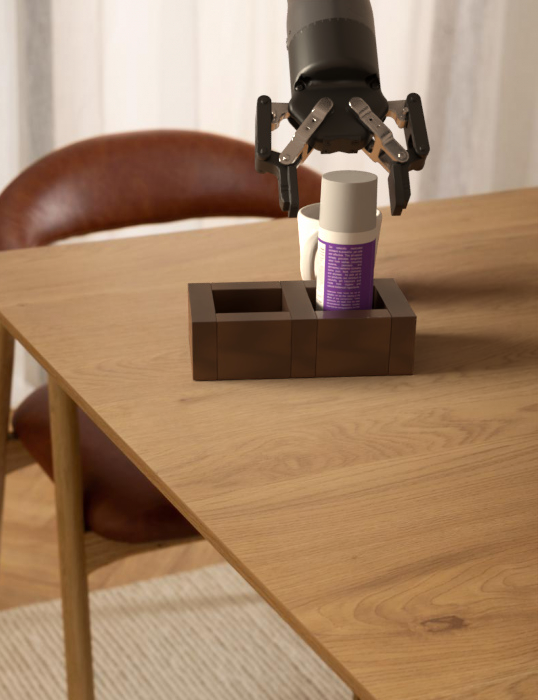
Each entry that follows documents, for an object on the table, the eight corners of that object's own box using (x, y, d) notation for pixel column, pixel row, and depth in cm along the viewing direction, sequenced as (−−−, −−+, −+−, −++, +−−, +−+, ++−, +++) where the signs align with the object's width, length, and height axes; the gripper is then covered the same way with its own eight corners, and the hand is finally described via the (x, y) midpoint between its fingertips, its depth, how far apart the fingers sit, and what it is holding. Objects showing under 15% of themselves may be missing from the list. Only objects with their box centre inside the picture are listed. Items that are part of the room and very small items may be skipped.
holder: (390, 332, 106) (393, 277, 103) (412, 374, 97) (417, 316, 94) (188, 337, 105) (187, 283, 102) (192, 380, 96) (191, 322, 94)
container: (380, 353, 101) (391, 176, 94) (345, 367, 98) (353, 186, 91) (338, 339, 104) (346, 167, 97) (303, 353, 101) (308, 176, 94)
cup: (342, 320, 108) (346, 234, 105) (266, 306, 112) (267, 222, 108) (391, 288, 116) (396, 207, 113) (318, 275, 120) (321, 197, 116)
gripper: (251, 15, 97) (262, 189, 92) (423, 13, 98) (443, 185, 93) (246, 73, 104) (256, 237, 100) (406, 70, 105) (423, 233, 100)
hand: (346, 212), depth 96 cm, fingers open, 8 cm apart
